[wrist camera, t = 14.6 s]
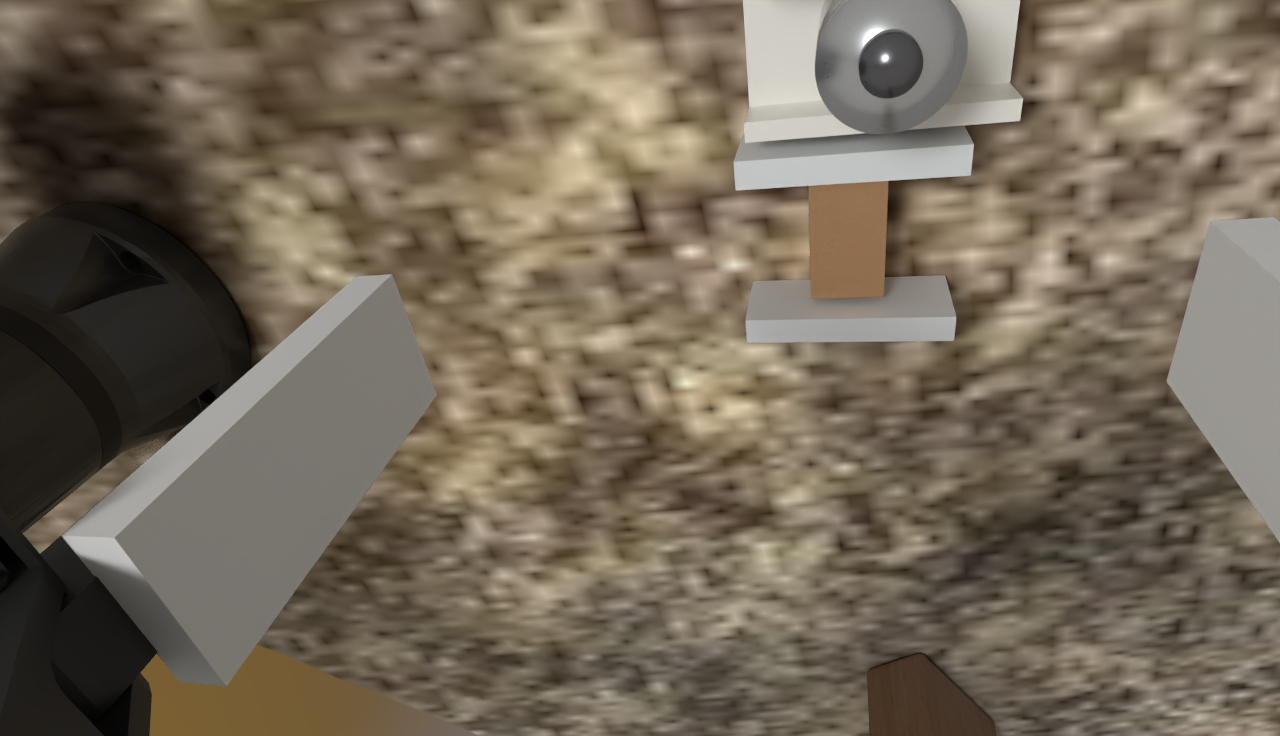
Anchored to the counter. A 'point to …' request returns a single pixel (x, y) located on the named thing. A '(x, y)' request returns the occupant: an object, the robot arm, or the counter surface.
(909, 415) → the counter surface
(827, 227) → the plate
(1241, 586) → the counter surface
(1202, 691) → the counter surface
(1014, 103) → the rack
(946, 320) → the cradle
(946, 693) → the wooden block
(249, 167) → the counter surface
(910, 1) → the cell
